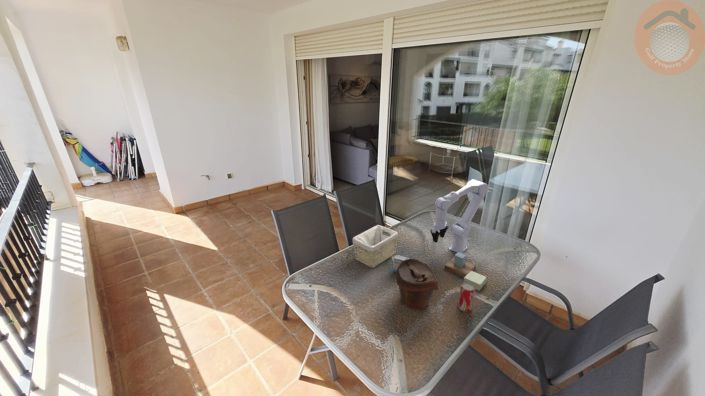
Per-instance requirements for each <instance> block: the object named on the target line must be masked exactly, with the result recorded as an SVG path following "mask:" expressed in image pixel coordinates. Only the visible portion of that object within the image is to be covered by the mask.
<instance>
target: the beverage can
mask: <svg viewBox="0 0 705 396" xmlns="http://www.w3.org/2000/svg"><path fill="white" fill-rule="evenodd" d="M475 295H476V289H474V286H473V285H472V284H470V283H464V282H463V283H462V284H461V285H460V287H459V293H458V299H457V300H458V301H457V307H458V309H459V310H460V311H463V312H466V313H470V312H472V310H473V307H474V300H475V297H476V296H475Z"/></svg>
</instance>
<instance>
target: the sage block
mask: <svg viewBox="0 0 705 396" xmlns="http://www.w3.org/2000/svg"><path fill="white" fill-rule="evenodd" d="M486 282H487V276H485V275H482V274H480V273H478V272H476V271H474V270H473V271H470V272H469V273H468V274H467V275H466V276H465V277H463V283H470V284H472V285H473V286H474V289H475V291H481V290H482V288H483V287H484V286H485V285H486Z"/></svg>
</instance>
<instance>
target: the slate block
mask: <svg viewBox="0 0 705 396" xmlns="http://www.w3.org/2000/svg"><path fill="white" fill-rule="evenodd" d="M467 255H468V254H465V253H464V252H462V253H460V252H458V253H457V252H456V253H455V254H454V256H453V258H454V265H456V266H458V267H460V268H462V267H463V266H464V265H465V264H466V261H467Z"/></svg>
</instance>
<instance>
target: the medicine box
mask: <svg viewBox="0 0 705 396" xmlns="http://www.w3.org/2000/svg"><path fill="white" fill-rule="evenodd" d="M406 259H411V257H407V256H404V255H399V254H396V255H395V256H394V257H393V269H392V272H393V273H396V270H397V268H398V266H399V264H400V263H401V262H402V261H404V260H406Z"/></svg>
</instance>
